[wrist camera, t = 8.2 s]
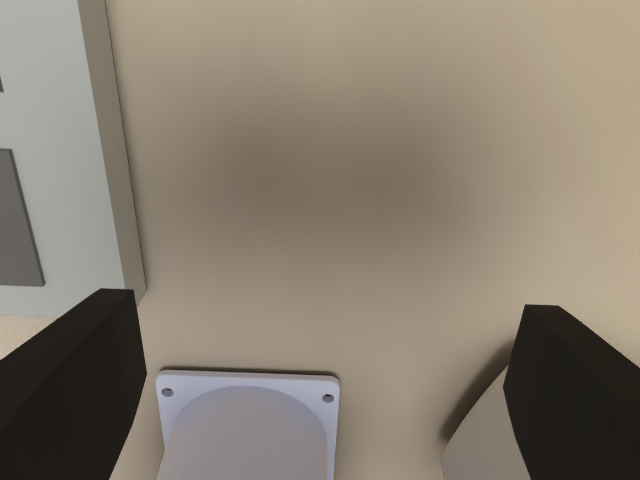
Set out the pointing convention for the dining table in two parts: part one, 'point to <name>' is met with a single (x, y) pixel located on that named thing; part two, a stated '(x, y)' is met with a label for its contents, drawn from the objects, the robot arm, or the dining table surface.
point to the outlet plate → (62, 161)
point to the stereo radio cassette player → (485, 442)
